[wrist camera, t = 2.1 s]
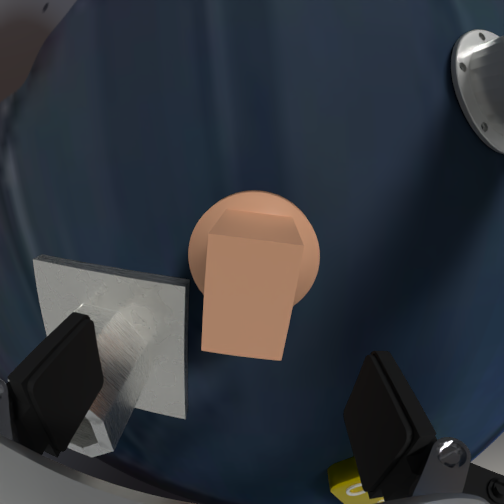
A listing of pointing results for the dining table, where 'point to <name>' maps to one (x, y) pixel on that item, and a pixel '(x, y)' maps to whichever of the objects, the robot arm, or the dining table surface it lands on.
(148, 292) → the hex socket plate
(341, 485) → the element tile
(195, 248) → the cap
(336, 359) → the dining table surface
